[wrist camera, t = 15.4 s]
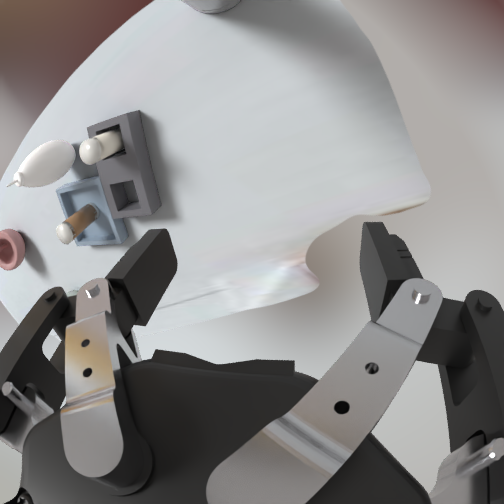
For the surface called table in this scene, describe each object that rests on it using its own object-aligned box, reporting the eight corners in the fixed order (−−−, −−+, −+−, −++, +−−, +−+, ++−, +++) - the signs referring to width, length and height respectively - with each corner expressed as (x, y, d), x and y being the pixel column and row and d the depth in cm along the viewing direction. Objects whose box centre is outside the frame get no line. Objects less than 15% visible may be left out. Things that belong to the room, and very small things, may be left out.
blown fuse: (83, 203, 50) (53, 226, 42) (95, 201, 50) (65, 224, 41) (89, 220, 53) (61, 244, 44) (101, 218, 52) (73, 243, 43)
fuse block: (100, 123, 41) (86, 127, 38) (139, 110, 39) (126, 113, 36) (123, 209, 51) (112, 218, 47) (161, 205, 49) (151, 214, 46)
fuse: (112, 129, 42) (76, 143, 33) (129, 124, 41) (94, 136, 33) (117, 149, 44) (83, 167, 36) (134, 145, 43) (100, 161, 35)
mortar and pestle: (34, 239, 61) (9, 262, 51) (30, 261, 67) (8, 283, 57) (11, 214, 57) (-14, 234, 48) (9, 238, 63) (-14, 257, 54)
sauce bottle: (54, 149, 45) (-8, 182, 30) (71, 126, 42) (2, 155, 27) (71, 176, 48) (11, 216, 33) (90, 155, 45) (23, 192, 30)
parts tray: (64, 184, 49) (55, 190, 47) (108, 173, 47) (99, 178, 44) (84, 239, 57) (77, 246, 54) (128, 236, 54) (121, 243, 52)
